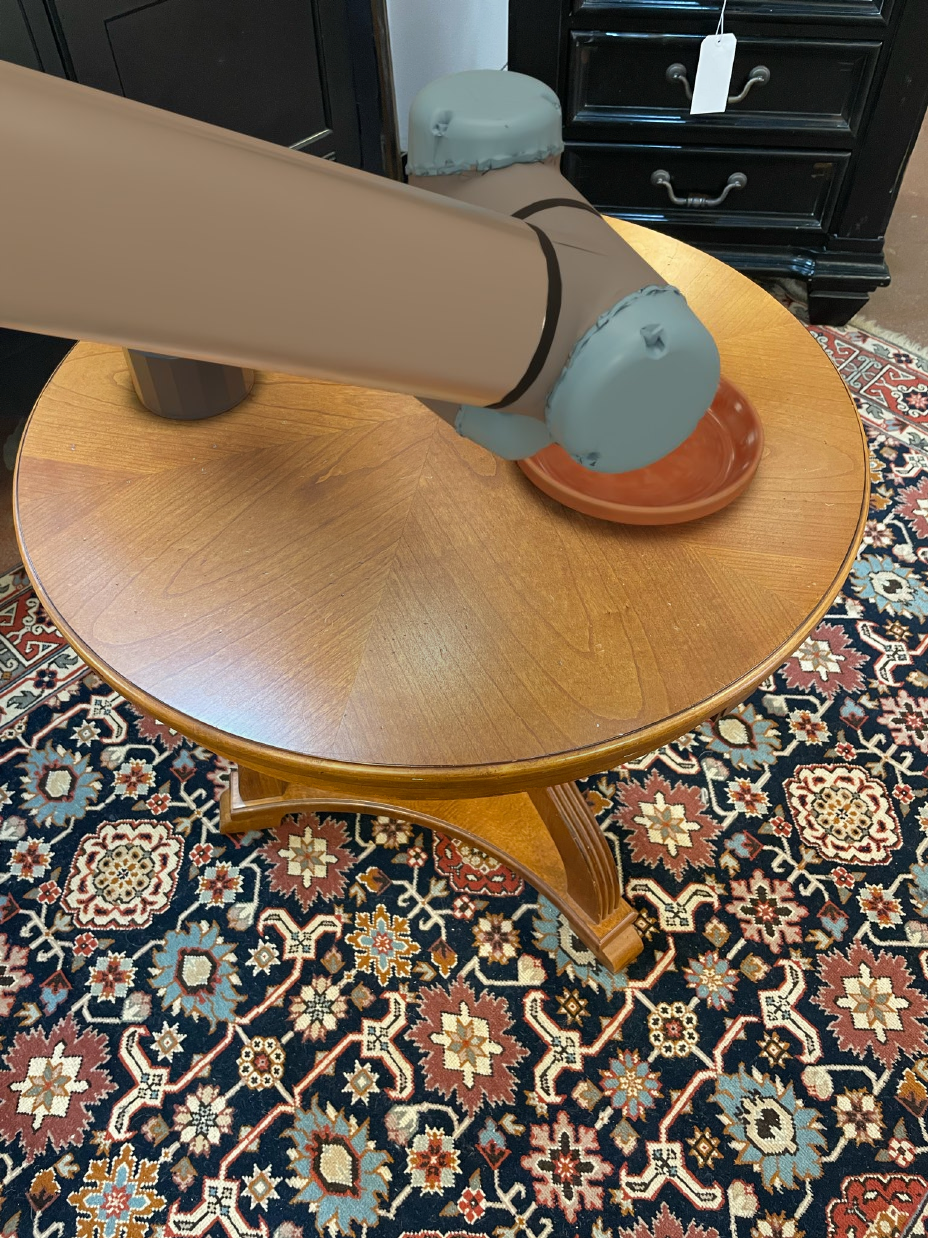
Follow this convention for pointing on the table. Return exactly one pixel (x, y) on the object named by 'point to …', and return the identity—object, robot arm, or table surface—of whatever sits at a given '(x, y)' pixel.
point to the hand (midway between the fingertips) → (187, 173)
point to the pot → (186, 384)
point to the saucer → (665, 470)
